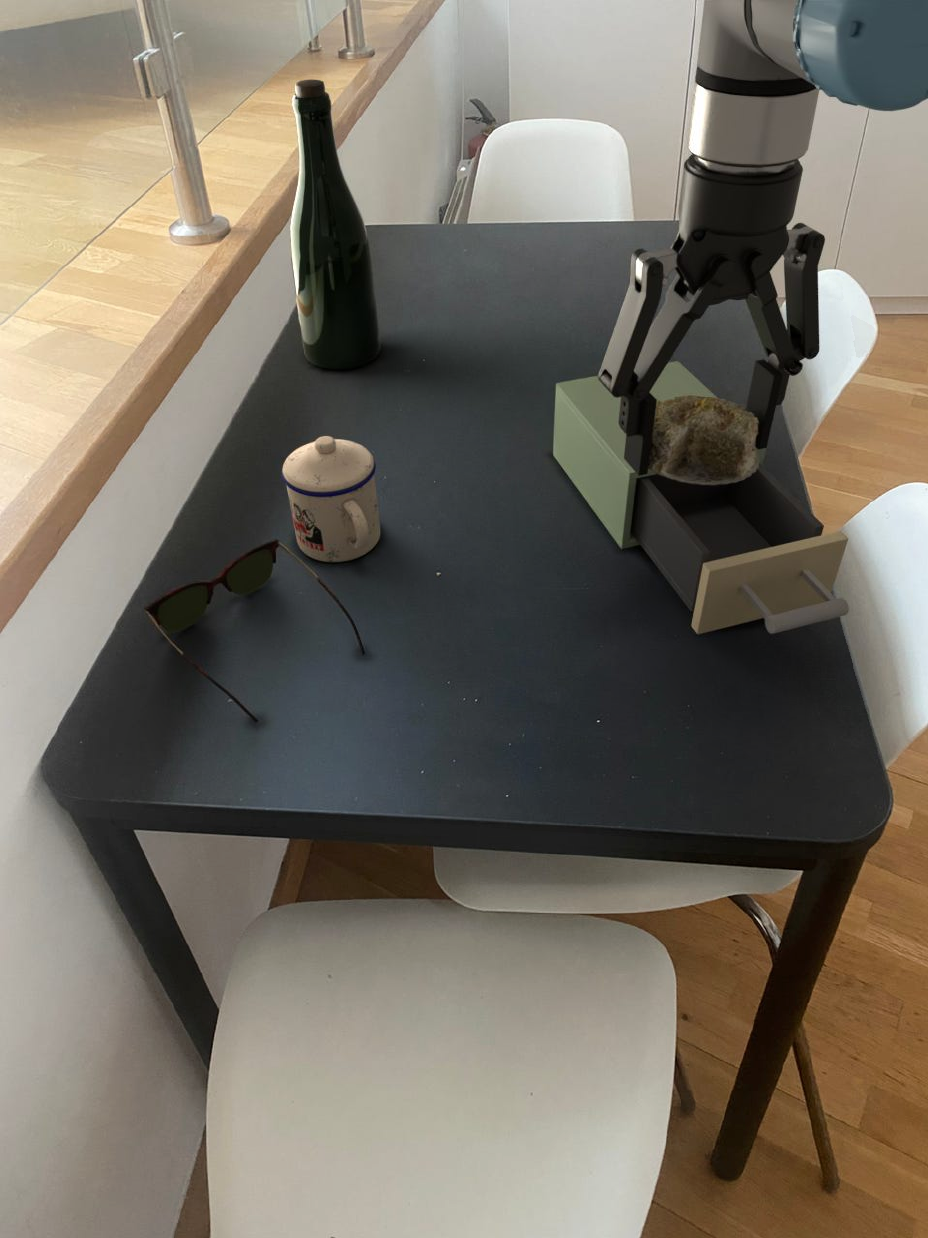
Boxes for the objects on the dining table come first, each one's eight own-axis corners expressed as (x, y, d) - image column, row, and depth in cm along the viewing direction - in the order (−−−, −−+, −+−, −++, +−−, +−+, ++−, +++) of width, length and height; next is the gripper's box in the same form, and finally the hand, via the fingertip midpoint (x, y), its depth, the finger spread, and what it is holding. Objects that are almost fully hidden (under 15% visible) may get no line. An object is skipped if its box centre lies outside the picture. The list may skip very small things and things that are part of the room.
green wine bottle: (361, 377, 121) (329, 95, 99) (291, 365, 124) (244, 89, 101) (393, 342, 128) (370, 72, 106) (326, 332, 131) (290, 67, 109)
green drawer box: (750, 520, 95) (767, 444, 89) (621, 549, 92) (629, 472, 86) (668, 431, 109) (677, 360, 102) (552, 455, 106) (555, 382, 99)
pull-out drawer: (867, 642, 80) (890, 578, 75) (730, 679, 78) (745, 615, 73) (731, 498, 97) (744, 437, 92) (614, 524, 94) (621, 463, 89)
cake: (620, 435, 78) (625, 375, 75) (734, 427, 79) (744, 367, 75) (651, 493, 70) (659, 428, 67) (778, 484, 71) (792, 419, 68)
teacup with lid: (282, 529, 97) (262, 432, 89) (360, 502, 100) (348, 406, 92) (327, 593, 89) (310, 492, 81) (411, 562, 92) (402, 462, 84)
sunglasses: (283, 573, 91) (277, 534, 88) (378, 656, 84) (376, 618, 80) (153, 644, 84) (141, 605, 80) (244, 742, 77) (235, 704, 73)
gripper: (858, 121, 64) (791, 405, 79) (559, 161, 60) (548, 456, 75) (930, 150, 59) (843, 449, 74) (608, 197, 54) (585, 507, 69)
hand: (695, 453), depth 74 cm, fingers closed on cake, 10 cm apart
